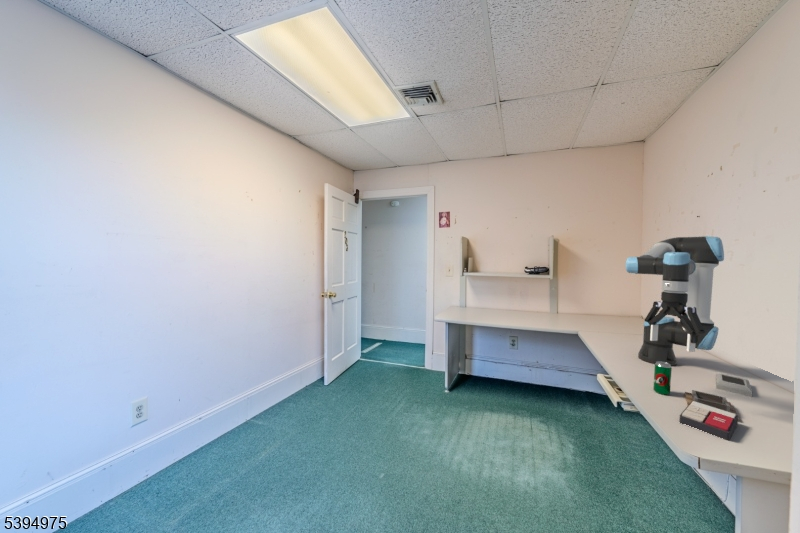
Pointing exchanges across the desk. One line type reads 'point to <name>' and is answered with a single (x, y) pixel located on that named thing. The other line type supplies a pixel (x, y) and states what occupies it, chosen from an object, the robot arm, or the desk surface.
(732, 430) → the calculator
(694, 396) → the can holder
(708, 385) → the desk surface
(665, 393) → the soda can
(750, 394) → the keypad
